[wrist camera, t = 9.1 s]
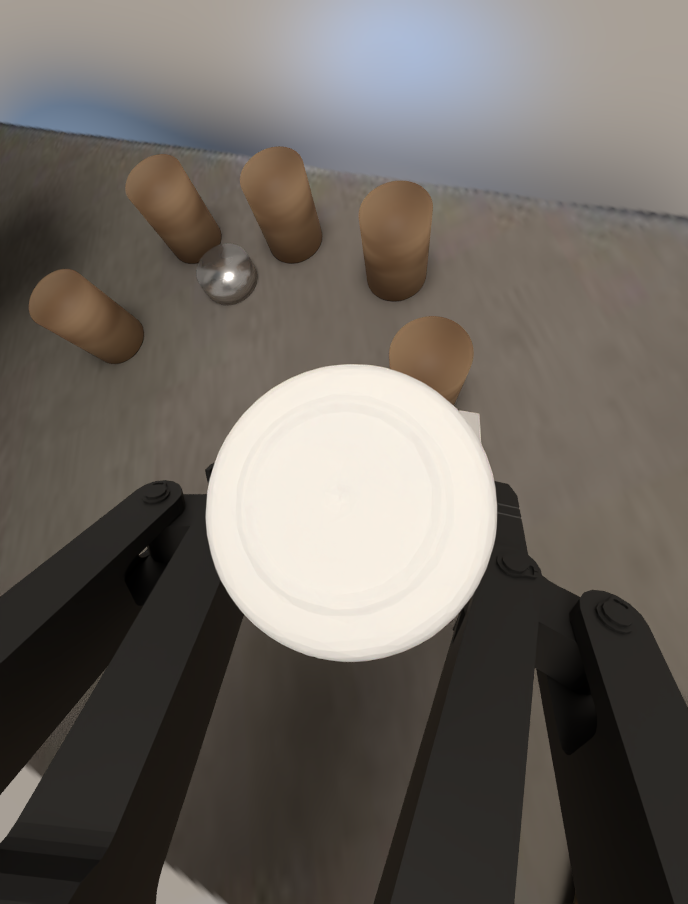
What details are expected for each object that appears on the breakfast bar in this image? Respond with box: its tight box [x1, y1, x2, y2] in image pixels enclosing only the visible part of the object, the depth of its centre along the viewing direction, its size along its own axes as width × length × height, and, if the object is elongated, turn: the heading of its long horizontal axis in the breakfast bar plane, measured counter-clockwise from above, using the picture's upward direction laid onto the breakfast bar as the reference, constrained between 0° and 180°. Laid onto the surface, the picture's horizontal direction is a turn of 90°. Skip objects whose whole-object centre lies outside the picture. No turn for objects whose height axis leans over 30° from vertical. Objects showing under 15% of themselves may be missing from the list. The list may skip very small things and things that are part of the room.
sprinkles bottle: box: [206, 364, 497, 662], centre depth 12 cm, size 5×5×14 cm
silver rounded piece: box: [196, 243, 257, 305], centre depth 25 cm, size 4×4×2 cm
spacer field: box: [29, 147, 474, 406], centre depth 22 cm, size 26×18×5 cm
